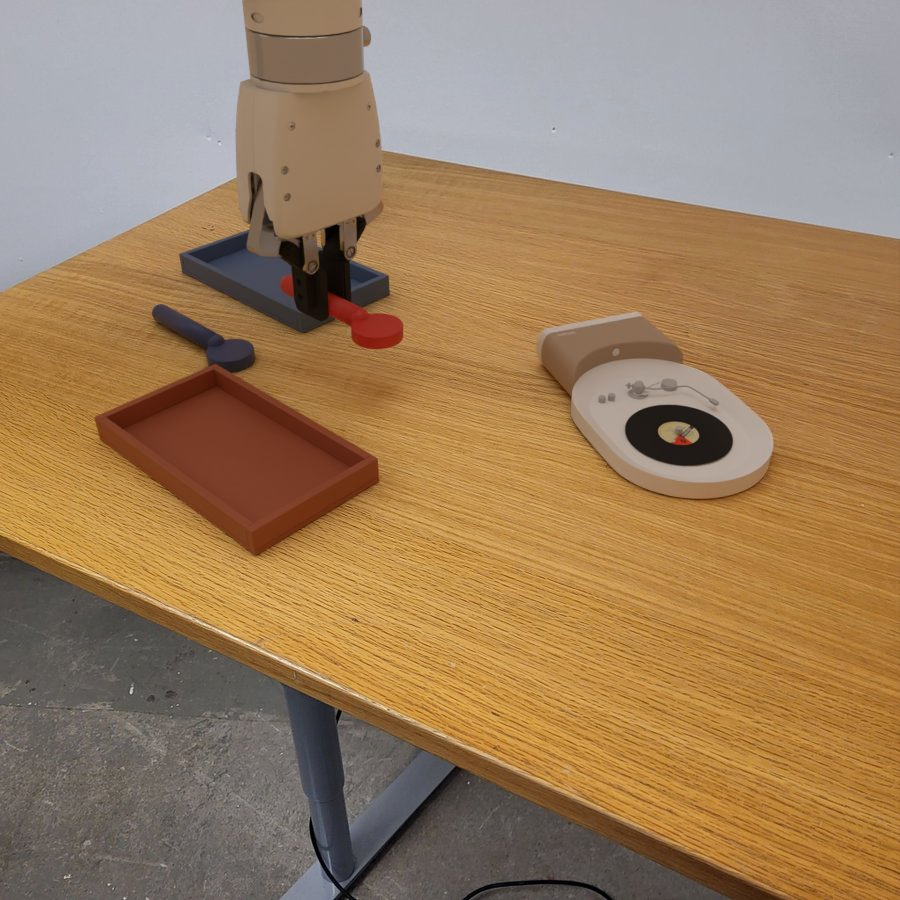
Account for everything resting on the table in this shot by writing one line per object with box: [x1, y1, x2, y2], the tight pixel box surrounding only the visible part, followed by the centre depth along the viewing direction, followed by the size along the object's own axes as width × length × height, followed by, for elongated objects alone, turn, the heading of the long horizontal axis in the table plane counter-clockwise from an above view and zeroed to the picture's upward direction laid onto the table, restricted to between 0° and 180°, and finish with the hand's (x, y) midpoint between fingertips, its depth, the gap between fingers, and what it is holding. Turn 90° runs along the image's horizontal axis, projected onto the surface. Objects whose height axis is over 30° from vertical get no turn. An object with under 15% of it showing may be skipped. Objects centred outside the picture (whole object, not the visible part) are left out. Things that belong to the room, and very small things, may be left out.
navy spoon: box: [151, 303, 256, 373], centre depth 77 cm, size 13×4×2 cm, turn 47°
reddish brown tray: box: [93, 364, 380, 556], centre depth 64 cm, size 18×10×2 cm, turn 47°
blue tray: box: [178, 229, 391, 334], centre depth 87 cm, size 18×10×2 cm, turn 47°
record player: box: [536, 311, 775, 500], centre depth 67 cm, size 12×3×20 cm
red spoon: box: [280, 275, 404, 350], centre depth 70 cm, size 13×4×2 cm, turn 47°
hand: (323, 308), depth 71 cm, fingers closed on red spoon, 1 cm apart
